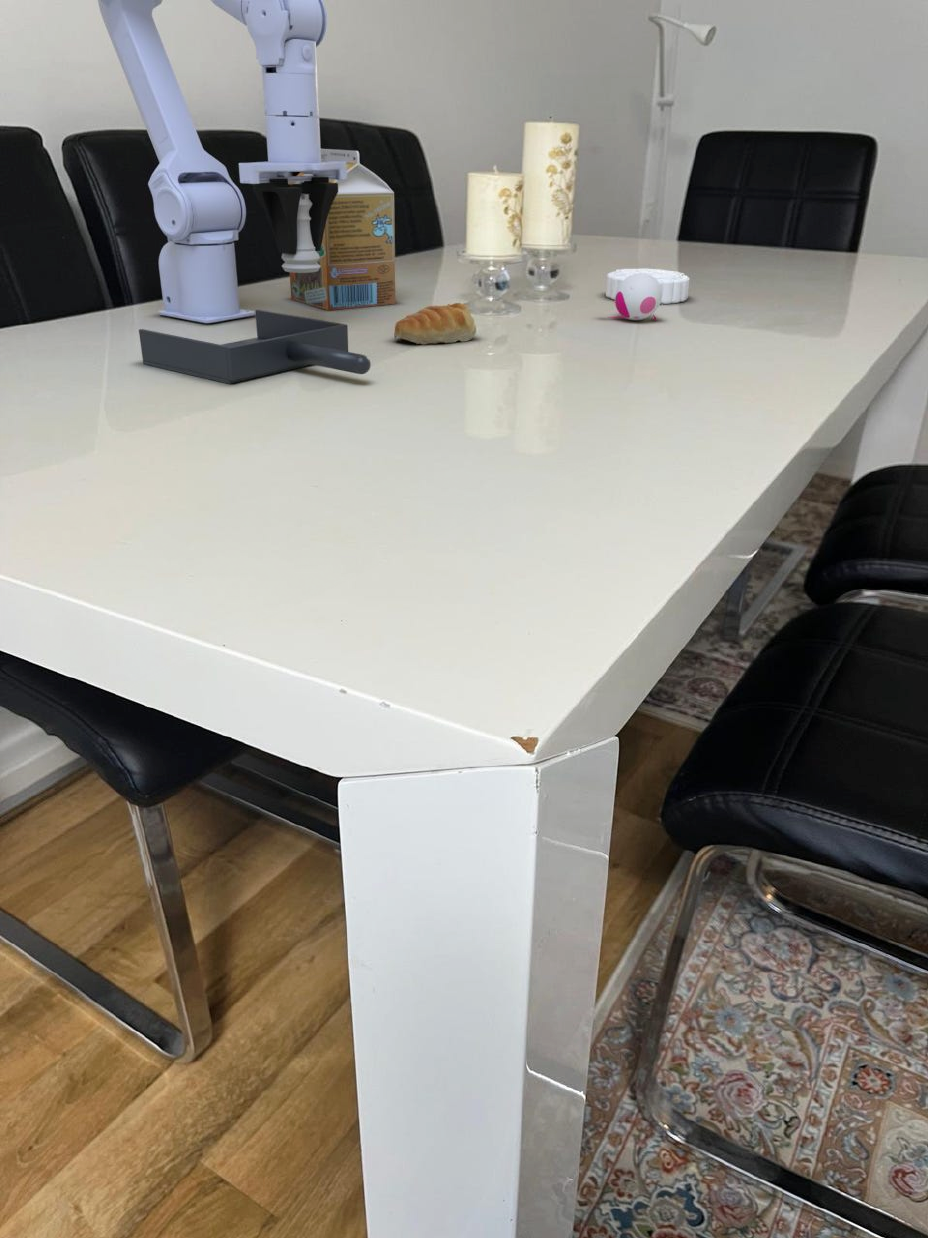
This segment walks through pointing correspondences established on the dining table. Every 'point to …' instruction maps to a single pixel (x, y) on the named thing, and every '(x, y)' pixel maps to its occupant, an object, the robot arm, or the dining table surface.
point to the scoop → (257, 350)
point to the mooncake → (670, 281)
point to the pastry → (437, 325)
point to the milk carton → (353, 243)
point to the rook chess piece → (303, 243)
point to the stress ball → (638, 297)
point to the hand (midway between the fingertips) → (299, 251)
